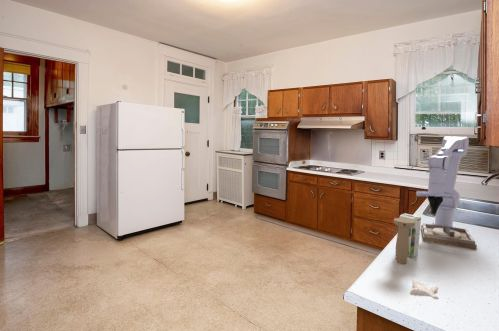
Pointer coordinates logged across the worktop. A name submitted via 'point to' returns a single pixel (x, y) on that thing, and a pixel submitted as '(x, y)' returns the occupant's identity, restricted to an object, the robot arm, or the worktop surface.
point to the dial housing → (463, 241)
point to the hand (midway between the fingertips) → (433, 213)
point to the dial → (446, 232)
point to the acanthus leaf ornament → (423, 289)
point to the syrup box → (413, 233)
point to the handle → (403, 239)
